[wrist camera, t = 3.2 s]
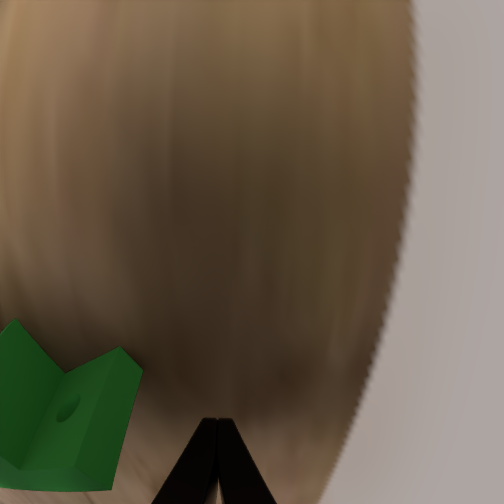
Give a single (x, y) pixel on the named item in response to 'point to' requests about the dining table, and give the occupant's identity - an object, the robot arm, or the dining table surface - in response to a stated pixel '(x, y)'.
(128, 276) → the dining table surface
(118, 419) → the pipe clamp
